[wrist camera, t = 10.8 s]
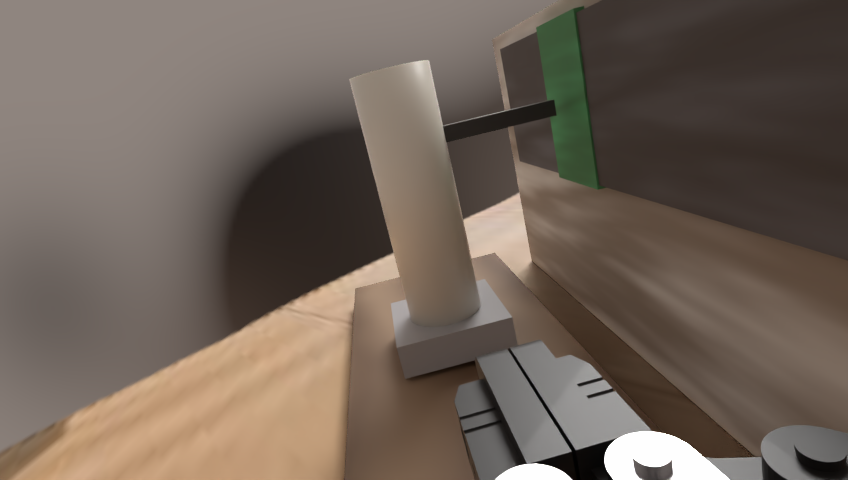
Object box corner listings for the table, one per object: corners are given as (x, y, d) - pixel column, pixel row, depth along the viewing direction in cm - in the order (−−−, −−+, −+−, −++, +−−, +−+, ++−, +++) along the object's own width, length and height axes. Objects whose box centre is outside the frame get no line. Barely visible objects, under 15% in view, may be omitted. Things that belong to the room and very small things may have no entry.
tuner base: (339, 1033, 9) (-290, -169, 4) (360, 305, 41) (297, 85, 37) (1207, 739, 9) (1581, -533, 5) (554, 254, 42) (517, 33, 37)
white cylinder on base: (405, 379, 25) (324, 80, 21) (397, 329, 31) (332, 87, 27) (607, 324, 26) (564, 24, 22) (562, 286, 31) (522, 43, 28)
